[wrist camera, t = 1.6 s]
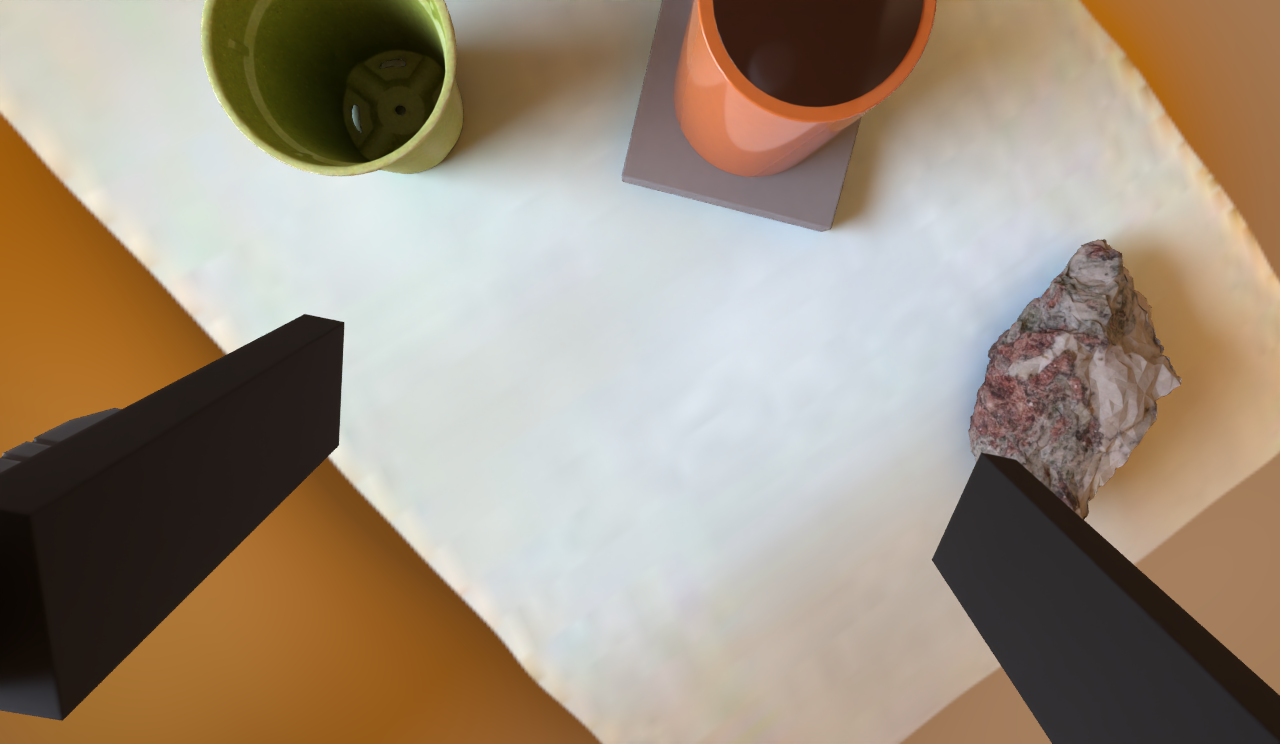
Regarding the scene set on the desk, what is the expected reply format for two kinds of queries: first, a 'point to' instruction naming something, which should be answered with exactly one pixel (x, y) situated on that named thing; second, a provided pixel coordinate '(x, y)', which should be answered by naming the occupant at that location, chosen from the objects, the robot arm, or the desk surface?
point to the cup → (789, 74)
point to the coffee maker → (680, 170)
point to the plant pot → (337, 80)
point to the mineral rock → (1074, 379)
